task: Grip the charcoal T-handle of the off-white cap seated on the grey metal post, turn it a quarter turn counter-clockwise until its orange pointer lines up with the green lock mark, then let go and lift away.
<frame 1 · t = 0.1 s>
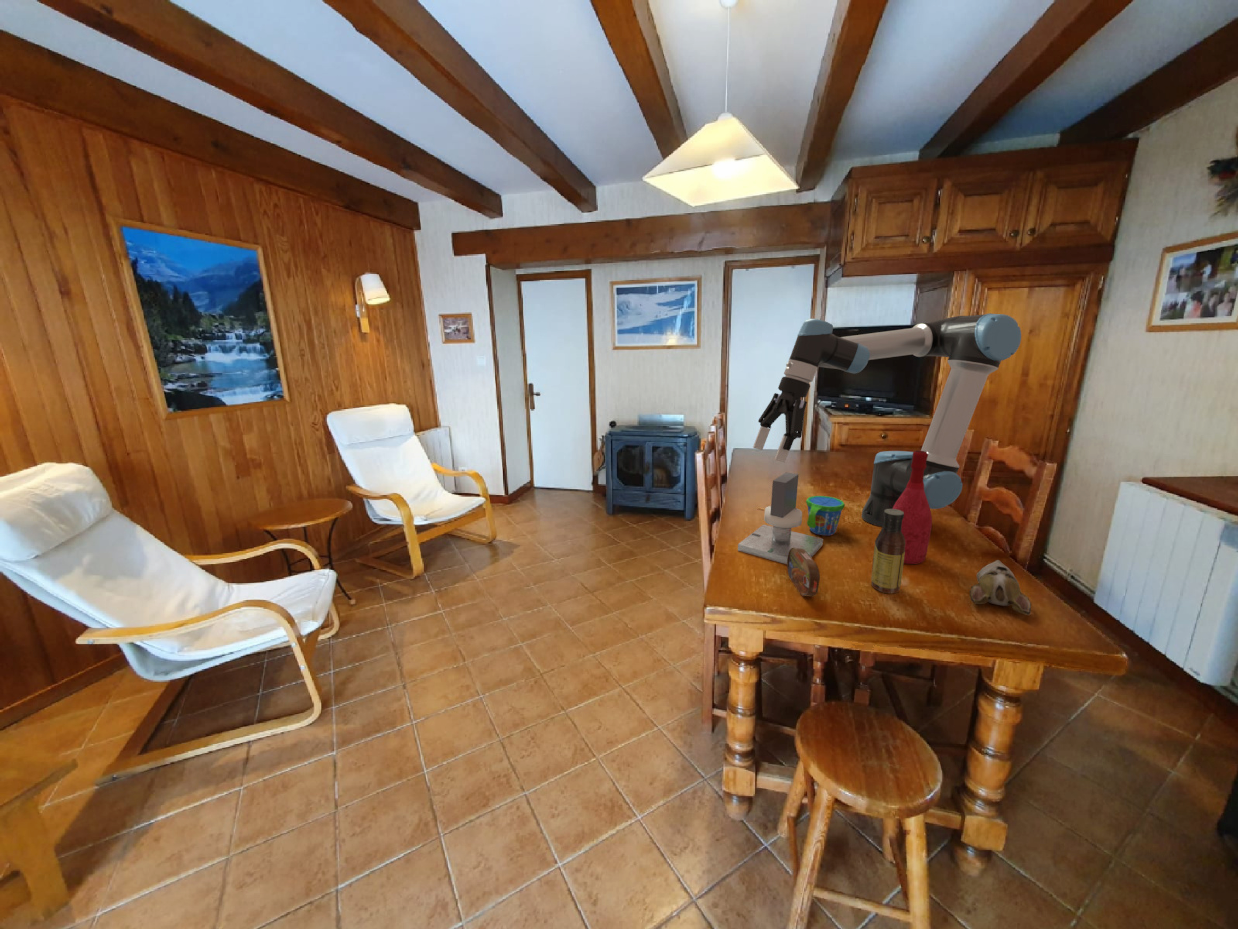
hand: (767, 454, 128), 28 cm above the table, fingers open, 13 cm apart
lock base: (780, 547, 135), on the table
sauce bottle: (884, 589, 112), on the table
ceramic sculpture: (995, 602, 106), on the table
snack cup: (822, 532, 145), on the table
bayonet cap: (779, 498, 131), point 15 cm above the table, hinge at 0.0°
tin: (801, 587, 114), on the table
wine bottle: (904, 558, 127), on the table
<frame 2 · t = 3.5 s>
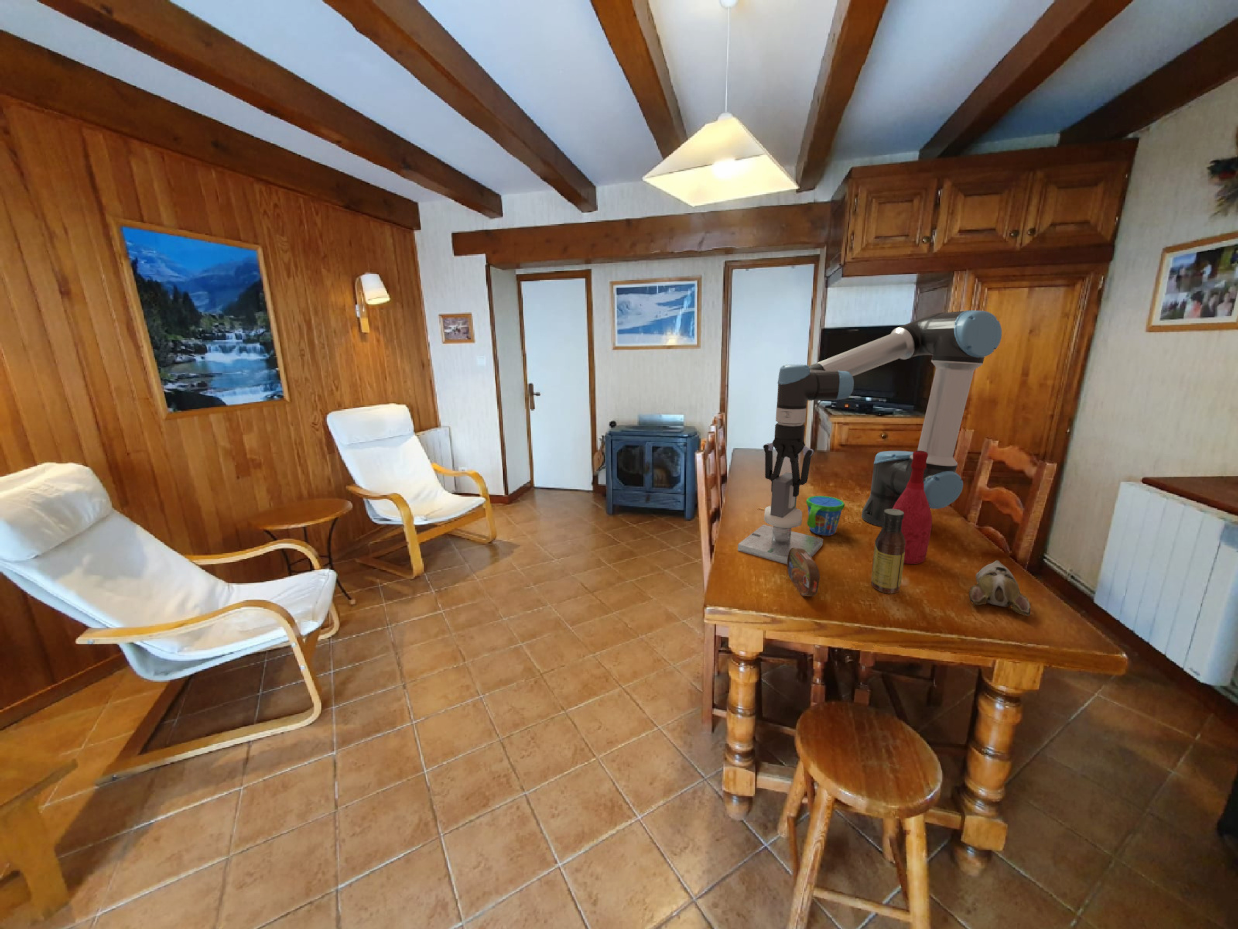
hand: (783, 505, 131), 13 cm above the table, fingers closed on bayonet cap, 3 cm apart
bayonet cap: (779, 498, 131), point 15 cm above the table, hinge at 0.0°, touching gripper
everything else where it was.
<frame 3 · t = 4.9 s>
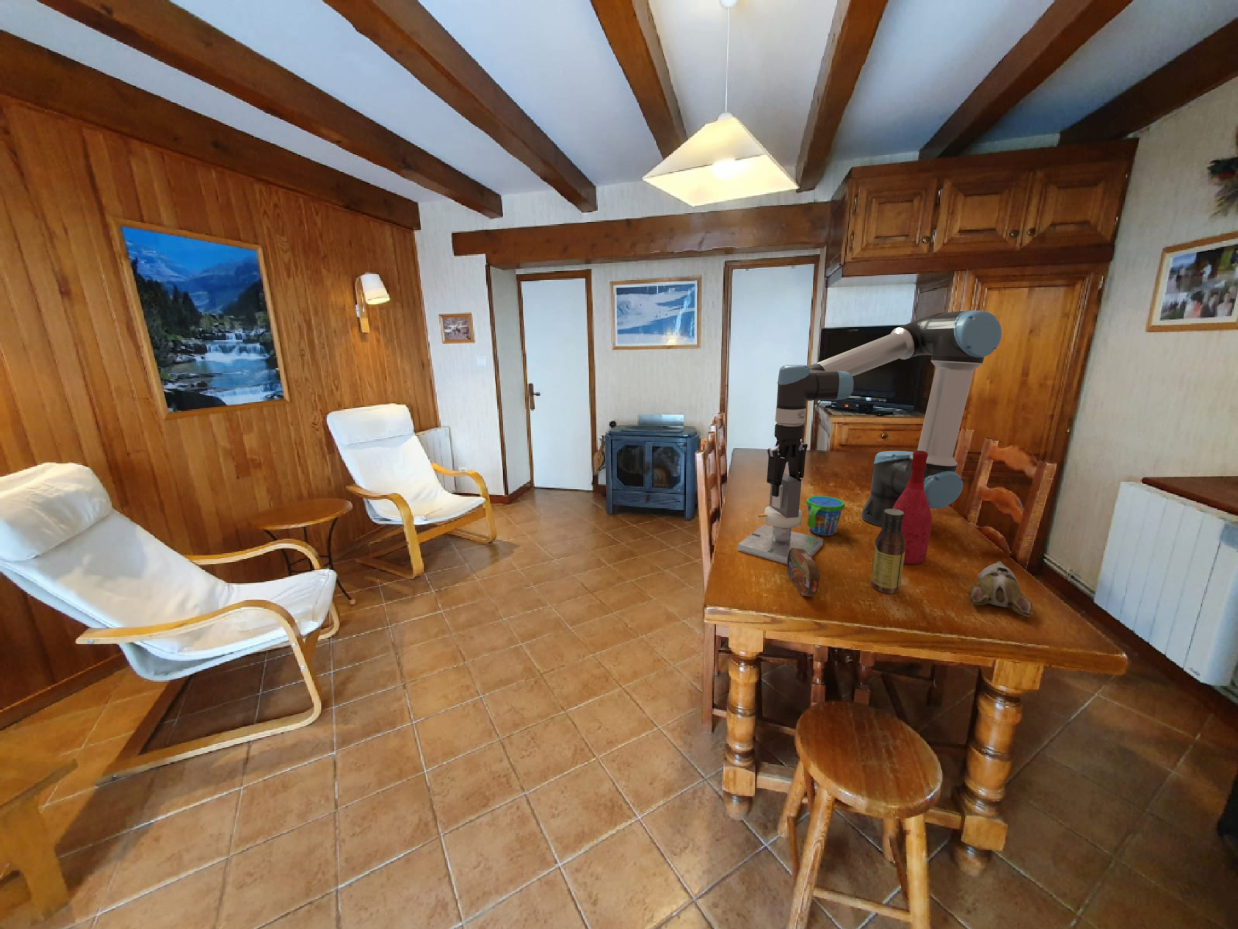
hand: (783, 504, 131), 13 cm above the table, fingers closed on bayonet cap, 5 cm apart
bayonet cap: (780, 499, 130), point 15 cm above the table, hinge at 48.4°, touching gripper
everything else where it was.
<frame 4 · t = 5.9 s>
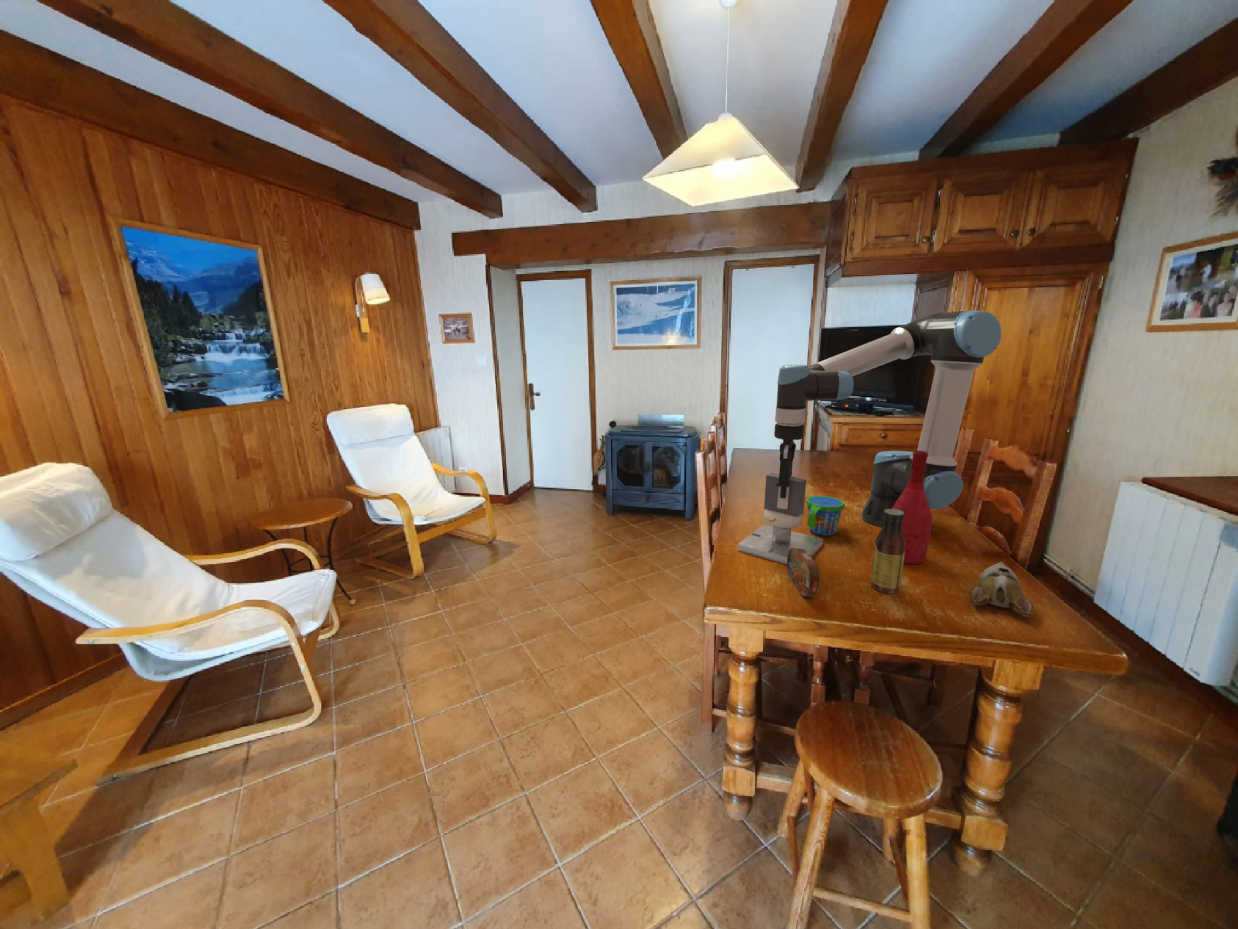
hand: (783, 504, 131), 13 cm above the table, fingers closed on bayonet cap, 5 cm apart
bayonet cap: (782, 500, 130), point 15 cm above the table, hinge at 83.5°, touching gripper
everything else where it was.
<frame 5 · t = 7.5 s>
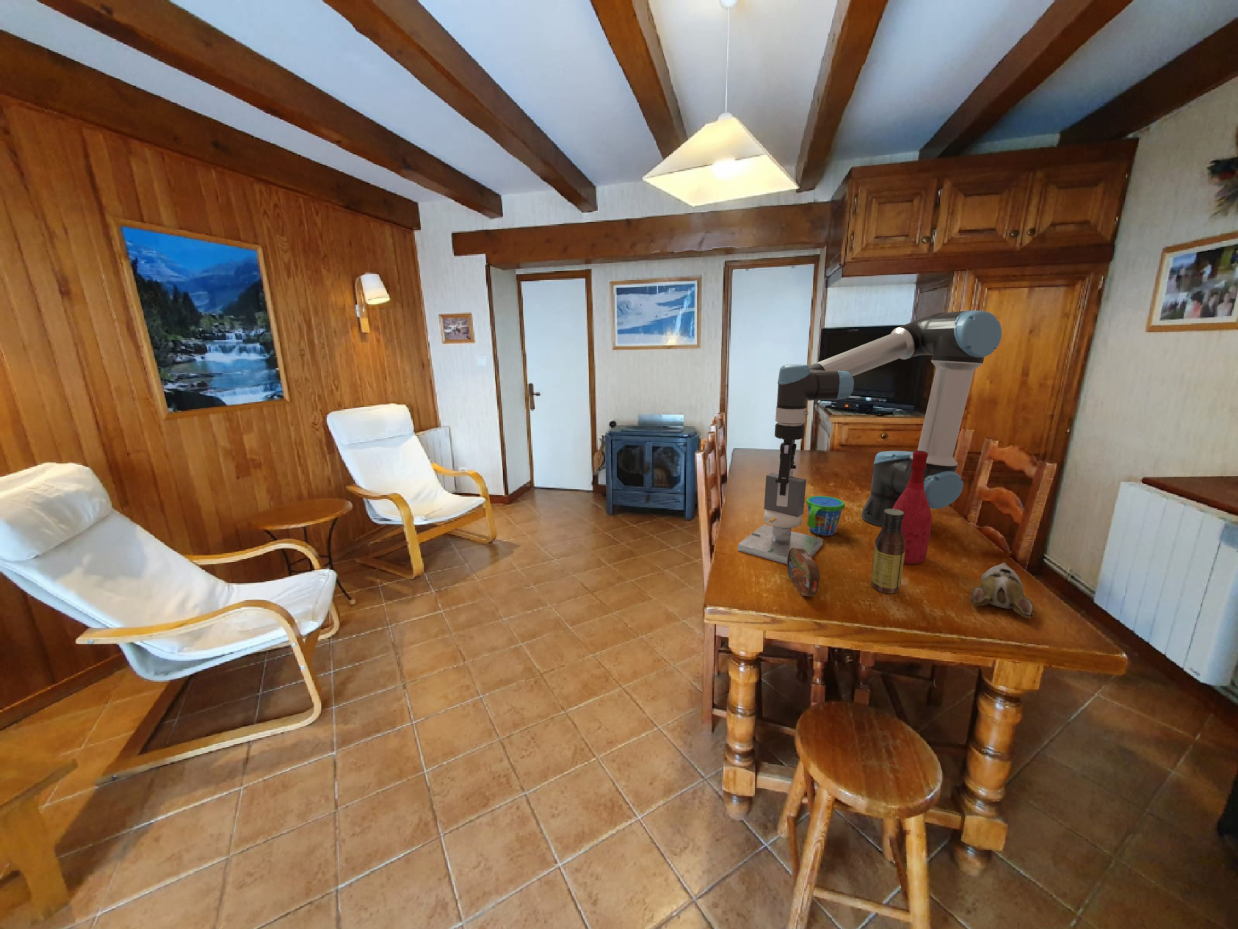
hand: (784, 498, 131), 15 cm above the table, fingers open, 13 cm apart
bayonet cap: (782, 500, 130), point 15 cm above the table, hinge at 85.0°
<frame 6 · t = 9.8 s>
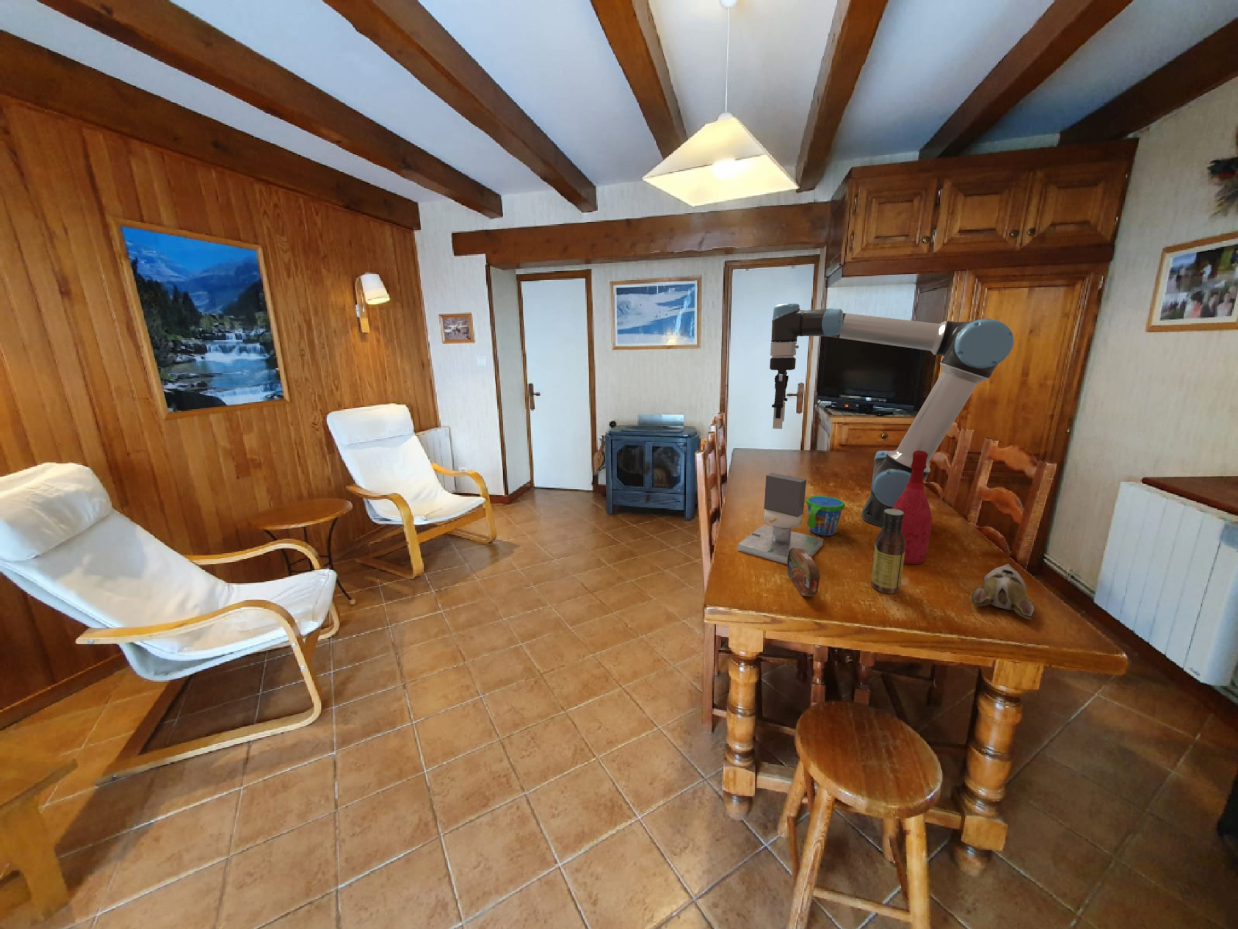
hand: (778, 424, 149), 32 cm above the table, fingers open, 13 cm apart
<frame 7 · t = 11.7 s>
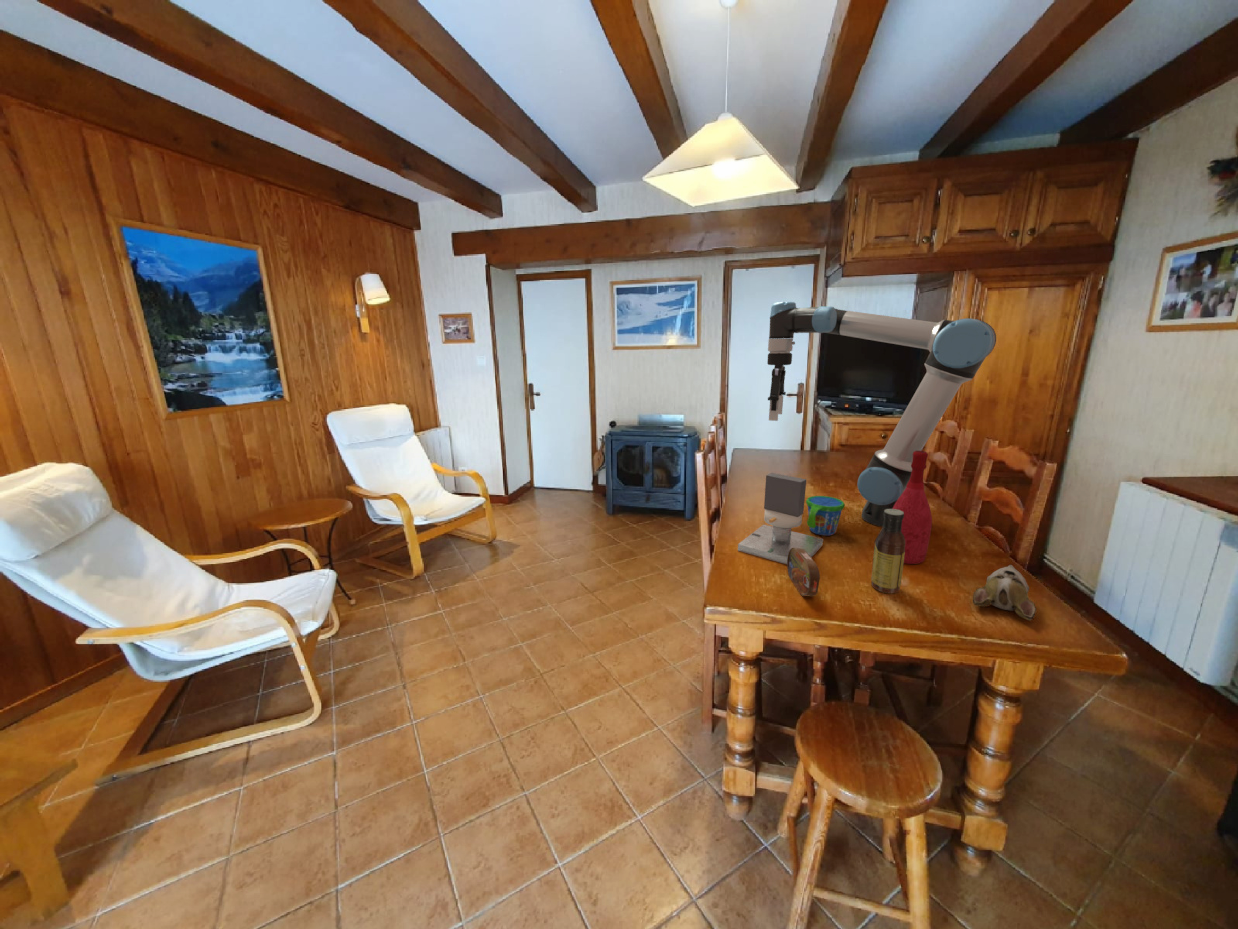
hand: (775, 417, 157), 33 cm above the table, fingers open, 13 cm apart
at the end: bayonet cap at +85° (first picture: +0°); the gripper is holding nothing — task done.
